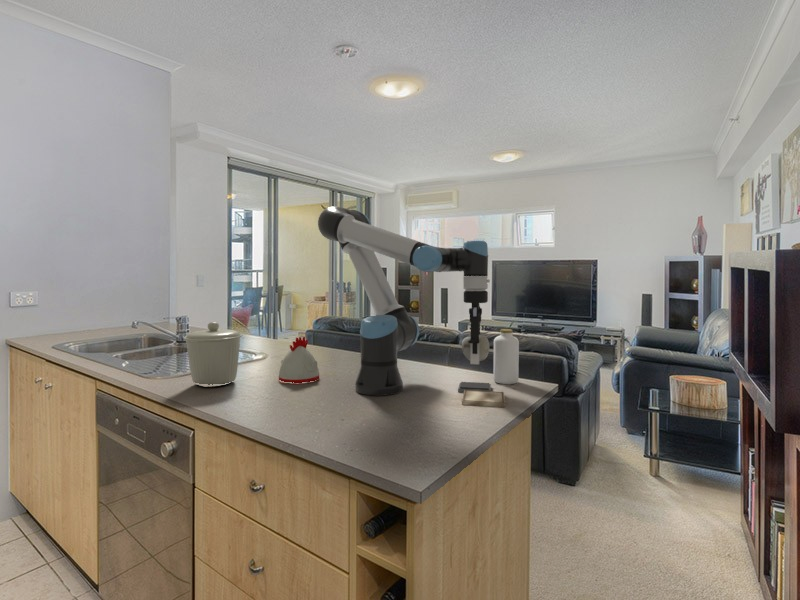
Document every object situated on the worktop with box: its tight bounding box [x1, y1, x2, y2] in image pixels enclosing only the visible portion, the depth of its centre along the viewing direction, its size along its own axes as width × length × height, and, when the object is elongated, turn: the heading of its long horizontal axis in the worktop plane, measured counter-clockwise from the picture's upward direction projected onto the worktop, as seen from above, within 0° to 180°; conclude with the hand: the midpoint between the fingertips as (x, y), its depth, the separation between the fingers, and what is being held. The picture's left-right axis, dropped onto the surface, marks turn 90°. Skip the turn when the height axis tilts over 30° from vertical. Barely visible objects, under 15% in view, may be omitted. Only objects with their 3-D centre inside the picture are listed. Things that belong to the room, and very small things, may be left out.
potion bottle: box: [492, 328, 520, 385], centre depth 152 cm, size 8×8×18 cm
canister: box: [183, 321, 243, 385], centre depth 150 cm, size 18×18×21 cm
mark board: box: [461, 390, 506, 408], centre depth 132 cm, size 12×12×1 cm
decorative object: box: [461, 334, 491, 362], centre depth 142 cm, size 9×9×10 cm
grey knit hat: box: [278, 336, 320, 383], centre depth 157 cm, size 14×14×15 cm
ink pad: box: [457, 381, 492, 393], centre depth 143 cm, size 10×8×2 cm
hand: (475, 360), depth 143 cm, fingers closed on decorative object, 9 cm apart
